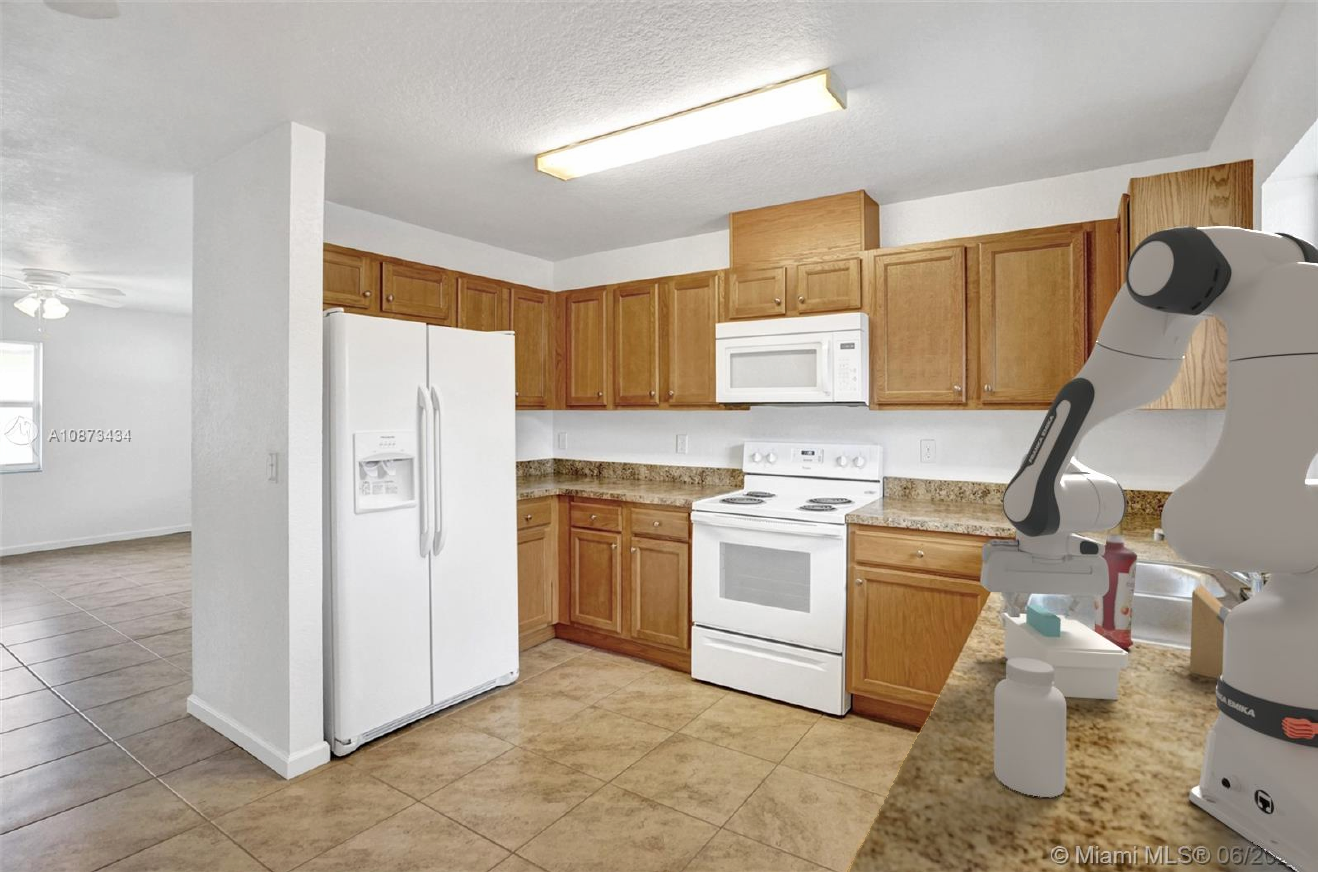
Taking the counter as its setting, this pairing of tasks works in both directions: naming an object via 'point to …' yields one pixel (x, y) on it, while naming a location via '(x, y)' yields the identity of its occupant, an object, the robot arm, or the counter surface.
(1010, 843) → the counter surface
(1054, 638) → the lid
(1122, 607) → the liquor
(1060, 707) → the pill bottle
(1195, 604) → the sandwich container
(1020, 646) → the box
